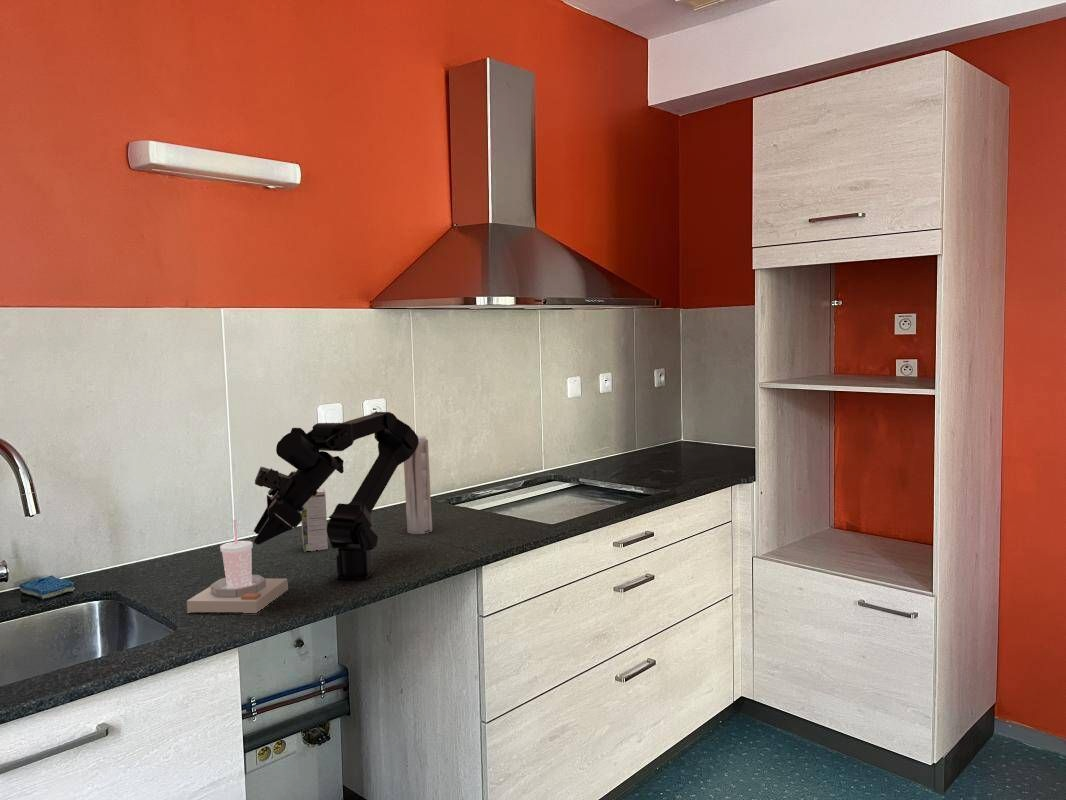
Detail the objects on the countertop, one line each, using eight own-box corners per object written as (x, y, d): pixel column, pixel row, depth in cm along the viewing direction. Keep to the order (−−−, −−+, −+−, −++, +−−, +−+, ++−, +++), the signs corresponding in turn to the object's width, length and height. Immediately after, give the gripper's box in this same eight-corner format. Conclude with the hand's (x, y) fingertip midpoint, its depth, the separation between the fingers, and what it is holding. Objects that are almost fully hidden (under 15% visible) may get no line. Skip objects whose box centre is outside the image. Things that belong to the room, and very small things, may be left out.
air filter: (408, 535, 210) (404, 439, 208) (405, 529, 216) (401, 436, 214) (434, 533, 212) (429, 437, 209) (430, 527, 218) (425, 434, 216)
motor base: (288, 590, 168) (286, 571, 168) (257, 614, 154) (255, 593, 154) (224, 590, 170) (222, 571, 170) (187, 613, 156) (186, 593, 156)
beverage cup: (227, 596, 158) (222, 525, 157) (219, 588, 163) (214, 519, 162) (259, 589, 161) (254, 519, 160) (250, 582, 166) (245, 514, 165)
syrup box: (302, 547, 202) (298, 489, 201) (326, 544, 204) (323, 486, 203) (304, 552, 197) (300, 493, 196) (329, 549, 199) (325, 490, 198)
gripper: (276, 446, 172) (224, 503, 169) (279, 458, 154) (221, 523, 151) (317, 479, 175) (266, 536, 172) (324, 495, 157) (268, 559, 155)
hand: (255, 537), depth 163 cm, fingers open, 9 cm apart
